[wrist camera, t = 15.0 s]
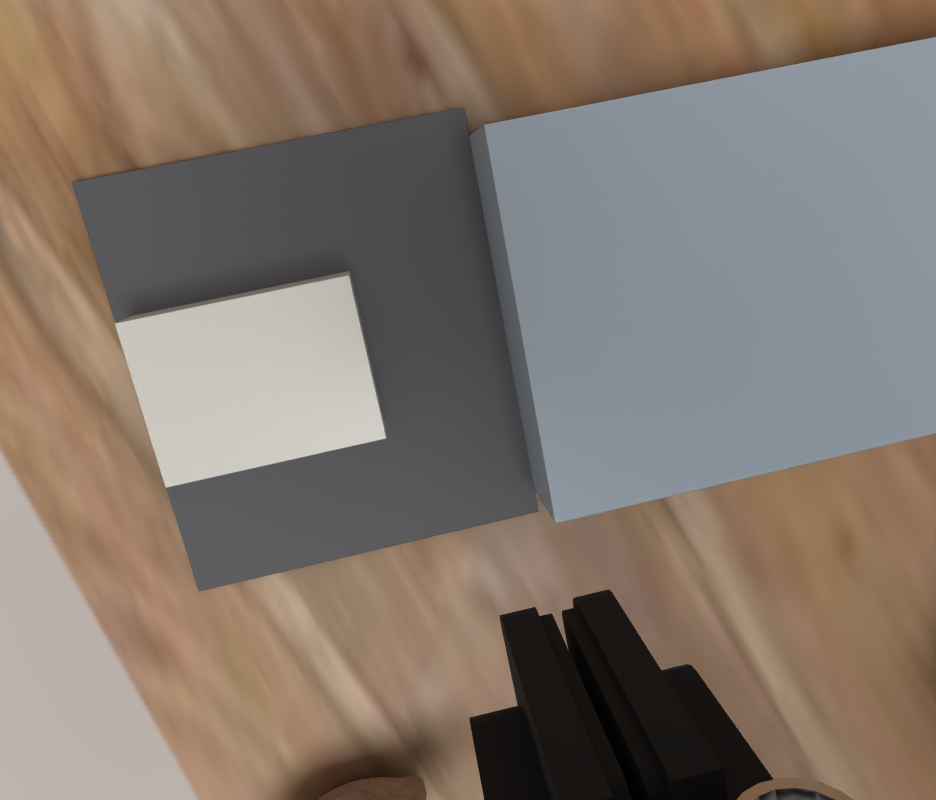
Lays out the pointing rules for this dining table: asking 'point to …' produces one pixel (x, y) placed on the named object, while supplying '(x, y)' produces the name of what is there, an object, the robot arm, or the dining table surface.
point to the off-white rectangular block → (253, 378)
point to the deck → (718, 275)
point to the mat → (383, 320)
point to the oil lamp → (380, 789)
